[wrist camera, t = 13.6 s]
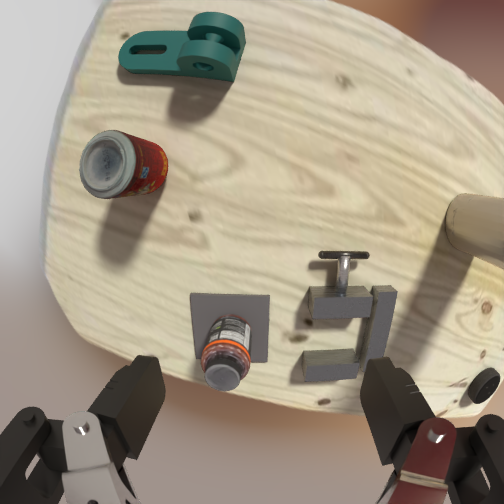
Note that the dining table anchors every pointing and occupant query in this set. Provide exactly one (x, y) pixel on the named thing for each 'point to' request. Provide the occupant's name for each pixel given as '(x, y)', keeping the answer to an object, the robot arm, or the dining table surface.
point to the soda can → (122, 165)
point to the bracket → (189, 49)
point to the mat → (245, 306)
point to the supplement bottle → (227, 352)
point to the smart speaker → (484, 385)
